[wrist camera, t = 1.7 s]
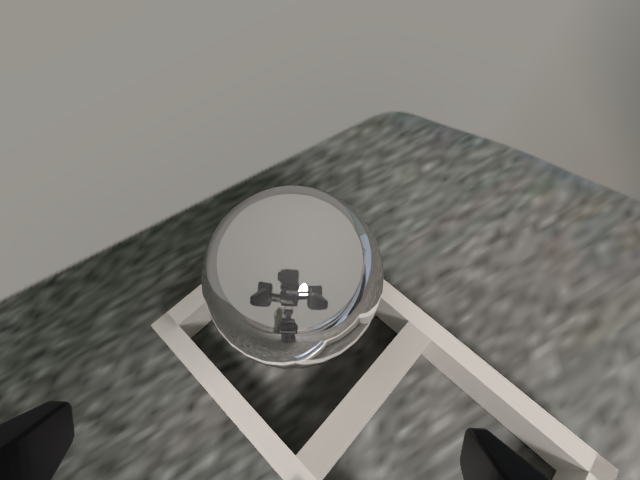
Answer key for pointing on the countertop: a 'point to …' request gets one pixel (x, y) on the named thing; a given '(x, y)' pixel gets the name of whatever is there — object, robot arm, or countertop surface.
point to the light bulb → (292, 277)
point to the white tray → (384, 393)
